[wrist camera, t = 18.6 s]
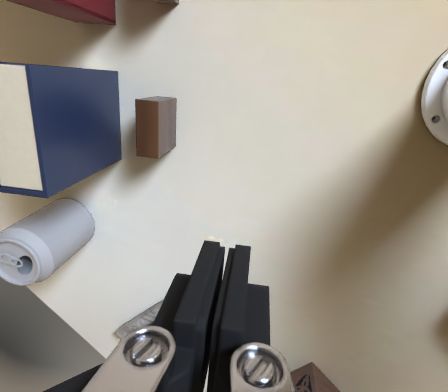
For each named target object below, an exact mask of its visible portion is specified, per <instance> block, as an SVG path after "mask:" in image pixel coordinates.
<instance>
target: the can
mask: <svg viewBox="0 0 448 392" xmlns="http://www.w3.org/2000/svg"><path fill="white" fill-rule="evenodd" d="M94 231H95V223H94V219H93V217H92V215H91V213H90V212H89V211H88V209H87V208H86V207H85V206H83V205H82V204H81V203H79V202H77V201H75V200H72V199H65V198H63V199H59V200H56V201H54V202H52V203H51V204H49V205H47V206H45V207H43V208H42V209H40V210H38V211H36V212H35V213H33V214H31V215H29V216H28V217H26V218H24V219H22V220H20V221H19V222H17V223H15V224H13V225H12V226H10V227H8V228H6V229H5V230H3V231H2V232H0V277H1V278H3V279H4V280H6V281H7V282H9V283H12V284H14V285H20V286H25V285H30V284H32V283H36V282H41V281H43V280H45V279H47V278H48V277H49V276H50V275H51V274H53V273H54V272H55V271H56V270H57V269H58V268H59V267H60V266H61V265H63V264H64V263H65V262H66V261H67V260H68V259H69V258H70V257H72V256H73V255H74V254H75V253H76V252H77V251H78V250H79V249H80V248H82V247H83V246H84V245H85V244H86V243H87V242H88V241H89V240H90V239H91V238H92V236H93V235H94Z"/></svg>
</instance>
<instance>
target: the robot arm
mask: <svg viewBox="0 0 448 392" xmlns="http://www.w3.org/2000/svg"><path fill="white" fill-rule="evenodd" d="M443 63H444V64H445V66H444V67H443ZM421 109H422V116H423V119H424V121H425V124H426V126H427V127H428V129H429V131H430V132H431V133H432V134H433V135H434V136H435V137H436V138H437V139H438V140H440V141H441V142H443V143H445V144H446V145H448V50H447V51H446V52H445V53H444V54H443V55H442V56H441V57H440V58H439V59H438V60H437V62H436V63H435V65H434V66H433V68H432V69H431V71H430V73H429V75H428V77H427V79H426V81H425V84H424V88H423V91H422V99H421ZM432 117H434V119H433V120H432ZM250 250H251V247H250V246H243V245H236V247H235V248H229V252H228V257H227V261H226V266H225V271H224V275H223V265H224V254H225V247H220V242H213V241H204V243H203V246H202V248H201V251H200V253H199V256H198V259H197V261H196V264H195V266H194V269H193V272H192V274H191V275H186V274H179V273H177V274H176V275H175V277H174V279H173V281H172V284H171V286H170V288H169V290H168V292H167V294H166V296H165V299H164V301H163V303H162V305H161V307H160V309H159V311H158V314H157V316H156V318H155V320H154V322H153V324H152V326H143V327H140V328H137V329H134V330H133V331H131V332H129V333H128V334H127V335H126V336H125V337H124V338H123V339H122V340H121V341H120V342H119V344H118V345H117V346H116V347H115V349H114V350H113V351H112V353H111V354H110V355H109V357H108V358H107V359H106V361H105V362H104V363H102V364H100V365H98V366H96V367H94V368H92V369H90V370H88V371H86V372H83V373H81V374H79V375H77V376H75V377H73V378H71V379H69V380H67V381H64V382H63V383H60V384H58V385H56V386H54V387H52V388H50V389H48V390H46V391H43V392H203V390H204V385H205V380H206V375H207V370H208V365H209V373H208V385H207V392H296V391H295V390H294V386H293V382H292V378H291V374H290V370H289V367H288V364H287V362H286V360H285V358H284V357H283V356H282V355H281V353H280V352H278V351H277V350H276V349H274V348H273V347H271V346H270V309H269V286H262V285H256V284H249V283H248V273H249V261H250ZM222 276H223V280H222ZM209 360H210V361H209Z"/></svg>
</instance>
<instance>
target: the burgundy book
mask: <svg viewBox="0 0 448 392" xmlns="http://www.w3.org/2000/svg"><path fill="white" fill-rule="evenodd" d="M7 1H11V2H14V3H17V4H20V5H23V6H26V7H30V8H33V9H36V10H39V11H42V12H45V13H48V14H52V15H55V16H58V17H61V18H64V19H67V20H71V21H74V22H82V23H96V24H111V25H116V19H115V0H7Z"/></svg>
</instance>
